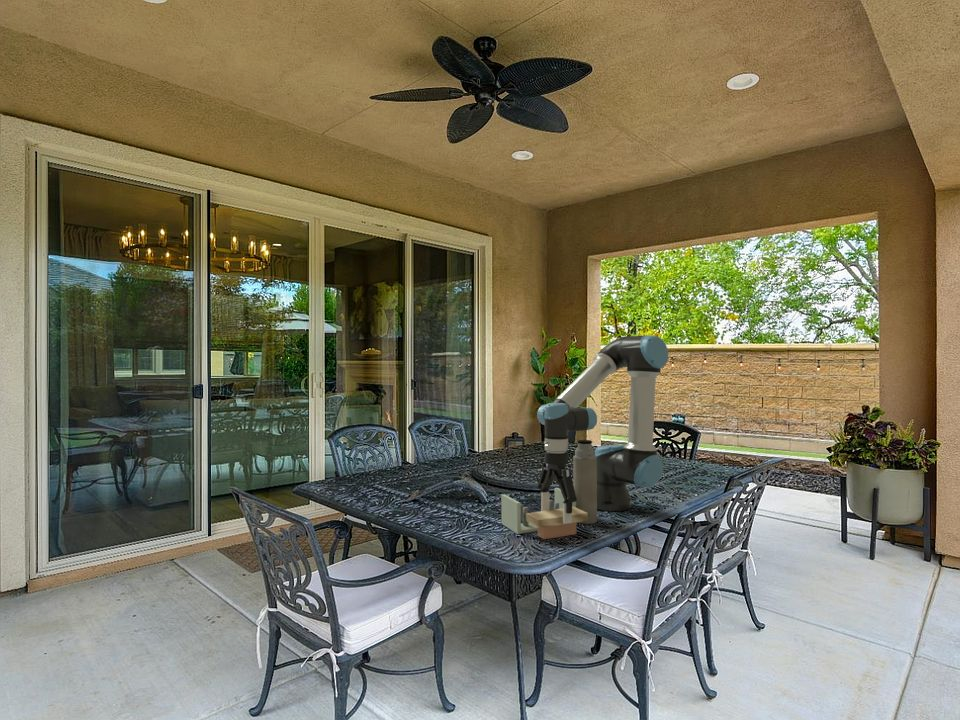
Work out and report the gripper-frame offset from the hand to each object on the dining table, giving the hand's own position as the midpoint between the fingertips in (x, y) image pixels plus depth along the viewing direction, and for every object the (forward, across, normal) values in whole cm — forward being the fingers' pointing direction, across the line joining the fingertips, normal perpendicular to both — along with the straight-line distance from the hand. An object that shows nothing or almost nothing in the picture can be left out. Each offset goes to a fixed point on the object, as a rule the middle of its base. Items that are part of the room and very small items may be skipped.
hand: (555, 517), depth 175 cm
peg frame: (+6, -12, 0) cm, 13 cm away
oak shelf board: (+1, 0, 0) cm, 1 cm away
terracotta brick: (+6, 0, 0) cm, 6 cm away
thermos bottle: (+6, -9, +18) cm, 21 cm away
